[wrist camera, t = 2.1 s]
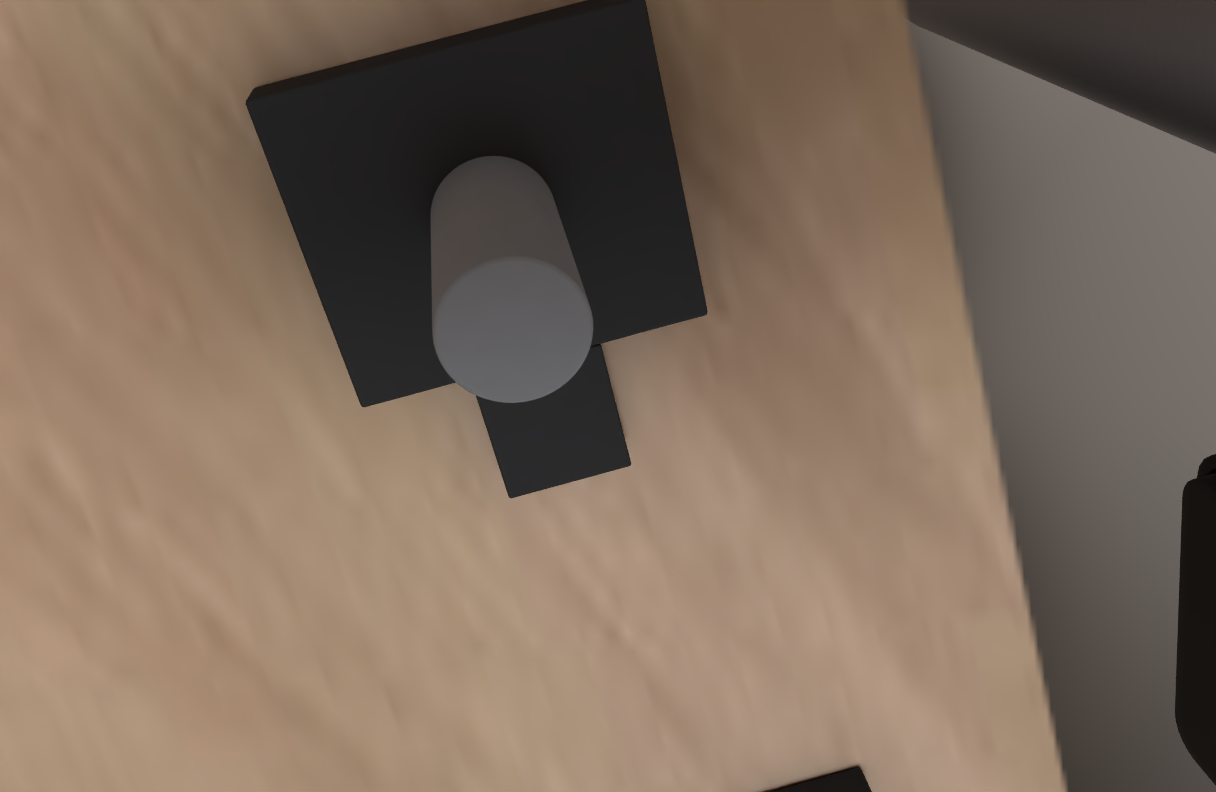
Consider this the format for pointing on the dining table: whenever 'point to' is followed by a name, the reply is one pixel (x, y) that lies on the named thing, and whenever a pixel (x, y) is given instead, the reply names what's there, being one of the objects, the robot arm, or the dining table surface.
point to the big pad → (834, 783)
